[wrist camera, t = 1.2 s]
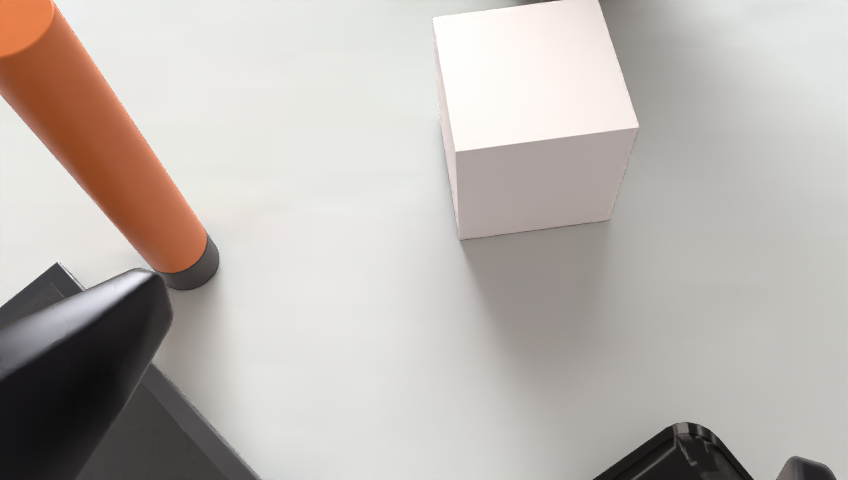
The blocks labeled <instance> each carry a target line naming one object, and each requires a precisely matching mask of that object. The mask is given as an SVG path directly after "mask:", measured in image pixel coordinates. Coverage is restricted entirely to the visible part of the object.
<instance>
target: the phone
mask: <svg viewBox="0 0 848 480" xmlns="http://www.w3.org/2000/svg"><path fill="white" fill-rule="evenodd" d="M593 480H754V479H753V478H752V477H751V476H750V475H749V474H748V472H747V471H746V470H745V469H744V468H743V466H742V465H741V464H740V463H739V462H738V460H737V459H736V458H735V457H734V456H733V454H732V453H731V452H730V451H729V450H728V448H727V447H726V446H725V445H724V444H723V442H722V441H721V440H720V439H719V438H718V437H717V436H716V435H715V434H714V433H713V432H711V431H710V430H709V429H707V428H705V427H703V426H701V425H699V424H694V423H689V422H683V423H676V424H673V425H671V426H669V427H667V428H665V429H664V430H663V431H661V432H660V433H658V434H657V435H655V436H654V437H653V438H651V439H650V440H648V441H647V442H646V443H644V444H643V445H641V446H640V447H638V448H637V449H636V450H634V451H633V452H631V453H630V454H629V455H627V456H626V457H624V458H623V459H621V460H620V461H619V462H617V463H616V464H614V465H613V466H612V467H610V468H609V469H607V470H606V471H605V472H603V473H602V474H600V475H599V476H597V477H596V478H595V479H593Z"/></svg>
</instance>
